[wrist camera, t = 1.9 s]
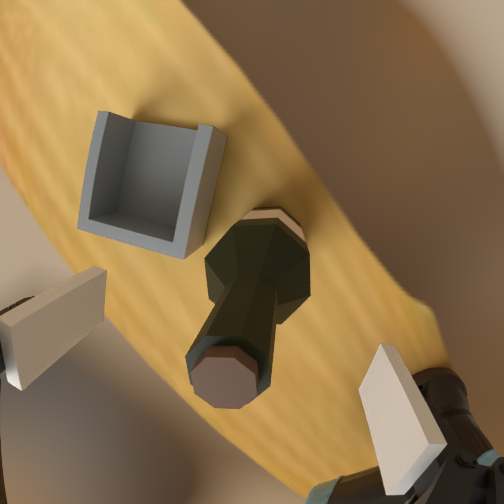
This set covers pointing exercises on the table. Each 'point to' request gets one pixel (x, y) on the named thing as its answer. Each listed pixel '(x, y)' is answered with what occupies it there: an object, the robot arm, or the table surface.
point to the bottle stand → (150, 183)
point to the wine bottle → (248, 305)
